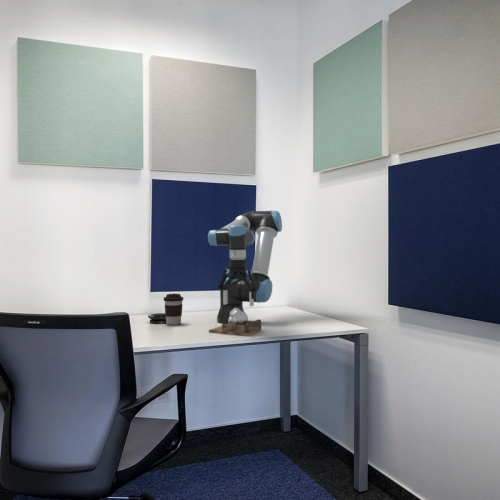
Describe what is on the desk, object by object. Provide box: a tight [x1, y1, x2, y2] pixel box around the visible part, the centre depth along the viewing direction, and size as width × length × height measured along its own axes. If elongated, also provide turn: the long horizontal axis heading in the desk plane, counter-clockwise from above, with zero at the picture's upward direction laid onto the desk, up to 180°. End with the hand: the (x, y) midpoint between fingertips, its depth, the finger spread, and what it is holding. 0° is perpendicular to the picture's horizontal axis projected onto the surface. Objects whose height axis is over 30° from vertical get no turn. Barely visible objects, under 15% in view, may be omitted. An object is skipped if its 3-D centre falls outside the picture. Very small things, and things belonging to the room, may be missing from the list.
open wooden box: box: [208, 319, 262, 337], centre depth 218 cm, size 20×14×5 cm
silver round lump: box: [228, 308, 249, 326], centre depth 217 cm, size 9×10×10 cm
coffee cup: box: [163, 293, 184, 326], centre depth 239 cm, size 10×10×15 cm
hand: (238, 305), depth 217 cm, fingers open, 13 cm apart
